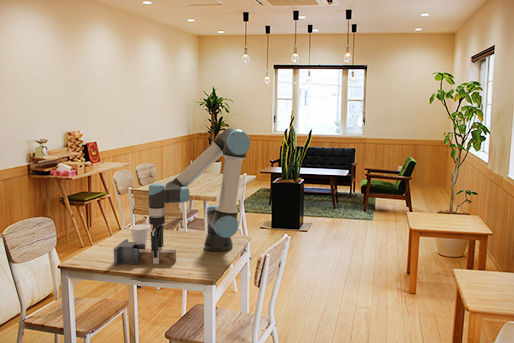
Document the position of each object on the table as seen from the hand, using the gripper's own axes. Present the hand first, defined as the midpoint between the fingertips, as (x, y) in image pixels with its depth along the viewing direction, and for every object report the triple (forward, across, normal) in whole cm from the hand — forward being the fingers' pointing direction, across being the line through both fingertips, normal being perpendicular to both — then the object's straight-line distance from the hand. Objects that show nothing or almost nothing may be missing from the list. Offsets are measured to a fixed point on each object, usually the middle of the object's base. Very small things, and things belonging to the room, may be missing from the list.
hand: (157, 261), depth 249 cm
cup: (0, -22, -17) cm, 28 cm away
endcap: (0, 0, -13) cm, 13 cm away
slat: (0, 0, 0) cm, 1 cm away
